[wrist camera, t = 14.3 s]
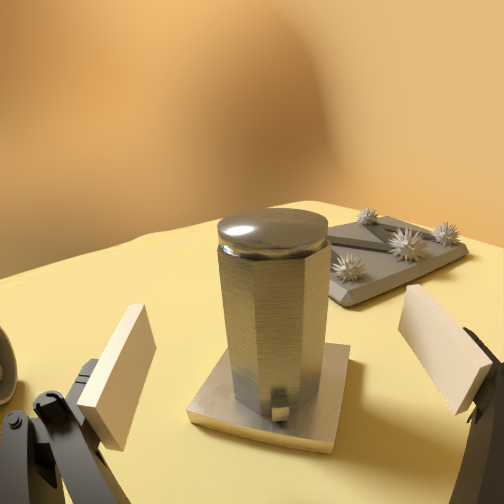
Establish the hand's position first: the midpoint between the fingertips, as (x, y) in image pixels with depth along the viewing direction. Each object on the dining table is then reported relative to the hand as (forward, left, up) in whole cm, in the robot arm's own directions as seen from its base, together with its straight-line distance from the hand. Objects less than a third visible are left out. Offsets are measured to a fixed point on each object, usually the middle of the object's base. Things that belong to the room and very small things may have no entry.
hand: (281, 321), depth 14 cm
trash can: (-1, +3, -8) cm, 9 cm away
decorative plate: (+6, +35, -10) cm, 37 cm away
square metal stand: (-1, +4, -10) cm, 10 cm away
